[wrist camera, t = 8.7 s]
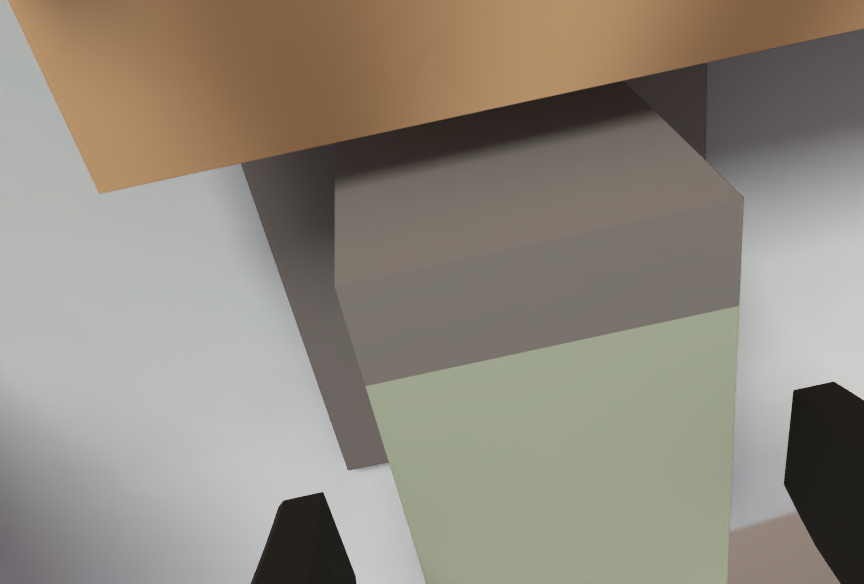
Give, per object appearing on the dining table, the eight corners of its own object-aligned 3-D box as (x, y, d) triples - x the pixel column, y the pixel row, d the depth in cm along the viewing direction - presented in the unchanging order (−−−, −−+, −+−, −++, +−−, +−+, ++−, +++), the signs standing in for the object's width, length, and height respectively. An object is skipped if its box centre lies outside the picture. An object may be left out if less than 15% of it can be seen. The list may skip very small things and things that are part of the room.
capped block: (418, 425, 19) (448, 657, 14) (335, 115, 14) (334, 286, 9) (620, 383, 19) (726, 599, 14) (598, 57, 14) (743, 197, 9)
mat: (347, 458, 19) (348, 470, 19) (233, 127, 15) (231, 135, 14) (695, 385, 19) (702, 395, 19) (698, 27, 14) (707, 32, 14)
